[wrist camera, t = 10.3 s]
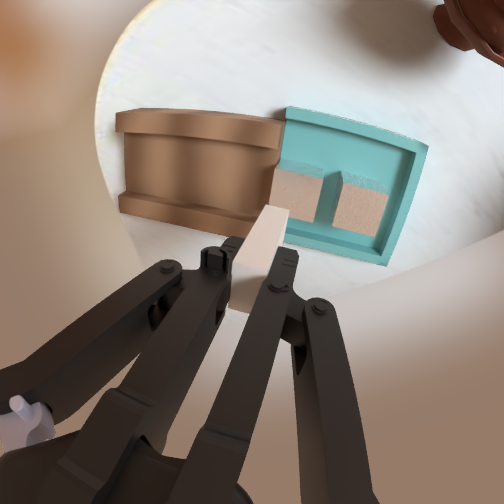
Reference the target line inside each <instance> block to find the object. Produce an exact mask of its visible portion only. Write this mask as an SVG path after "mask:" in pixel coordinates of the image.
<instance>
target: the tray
mask: <svg viewBox="0 0 504 504" xmlns="http://www.w3.org/2000/svg"><path fill="white" fill-rule="evenodd" d="M285 118H287V120H286V127H285V133H284V139H283V145H282V151H281V157H280V160H281V158H284V159H289V160H293V161H298V162H302V163H307V164H311V165H316V166H320V167H324V179H323V184H322V188H321V192H320V196H319V200H318V204H317V208H316V212H315V216H314V220H313V223H311V222H307V221H303V220H299V219H294V218H290V217H288V221H287V225H286V230H285V235H284V240H283V242H287V243H291V244H296V245H300V246H304V247H308V248H313V249H317V250H321V251H325V252H329V253H333V254H337V255H342V256H346V257H350V258H354V259H358V260H362V261H366V262H370V263H374V264H378V265H382V266H386V267H387V264H388V262H389V260H390V258H391V255H392V253H393V250H394V248H395V246H396V243H397V241H398V238H399V236H400V233H401V230H402V228H403V225H404V223H405V220H406V217H407V214H408V212H409V209H410V206H411V203H412V200H413V197H414V194H415V191H416V188H417V185H418V182H419V179H420V175H421V172H422V169H423V165H424V162H425V158H426V155H427V151H428V147H429V146H427V145H426V144H424V143H422V142H419V141H417V140H414V139H411V138H408V137H406V136H403V135H400V134H397V133H394V132H391V131H388V130H385V129H382V128H378V127H375V126H372V125H368V124H365V123H361V122H358V121H354V120H350V119H346V118H343V117H339V116H334V115H330V114H326V113H321V112H317V111H312V110H307V109H302V108H297V107H291V106H288V107H287V109H286V115H285ZM340 171H345V172H349V173H353V174H356V175H360V176H364V177H367V178H371V179H374V180H377V181H381V183H382V185H383V186H384V188H385V190H386V191H387V193H388V194H389V197H388V200H387V204H386V207H385V210H384V213H383V216H382V219H381V221H380V224H379V227H378V230H377V233H376V235H375V237H372V236H368V235H365V234H361V233H357V232H353V231H349V230H345V229H341V228H337V227H333V226H332V217H331V207H332V203H333V200H334V196H335V192H336V188H337V184H338V180H339V176H340Z"/></svg>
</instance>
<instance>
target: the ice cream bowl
mask: <svg viewBox="0 0 504 504" xmlns="http://www.w3.org/2000/svg"><path fill="white" fill-rule="evenodd" d="M444 3H445V4H442V5H438V6H437V8H436V10H435V13H434V16H433V17H434V20H435V23H436V26H437V29H438V32H439V33H440V34H441V35H442V36H443V37H444V38H445V40H446V41H447V42H448V43H449V44H450V45H451V46H454V47H456V48H458V49H460V50H463V51H468V50H472V49H475V50H476V51H477V52H478V53H479V54H481V55H482V56H484V57H486V58H488V59H489V60H491V61H493V62H495V63H497V64H498V65H500V66H502V67H503V68H504V0H444Z"/></svg>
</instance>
